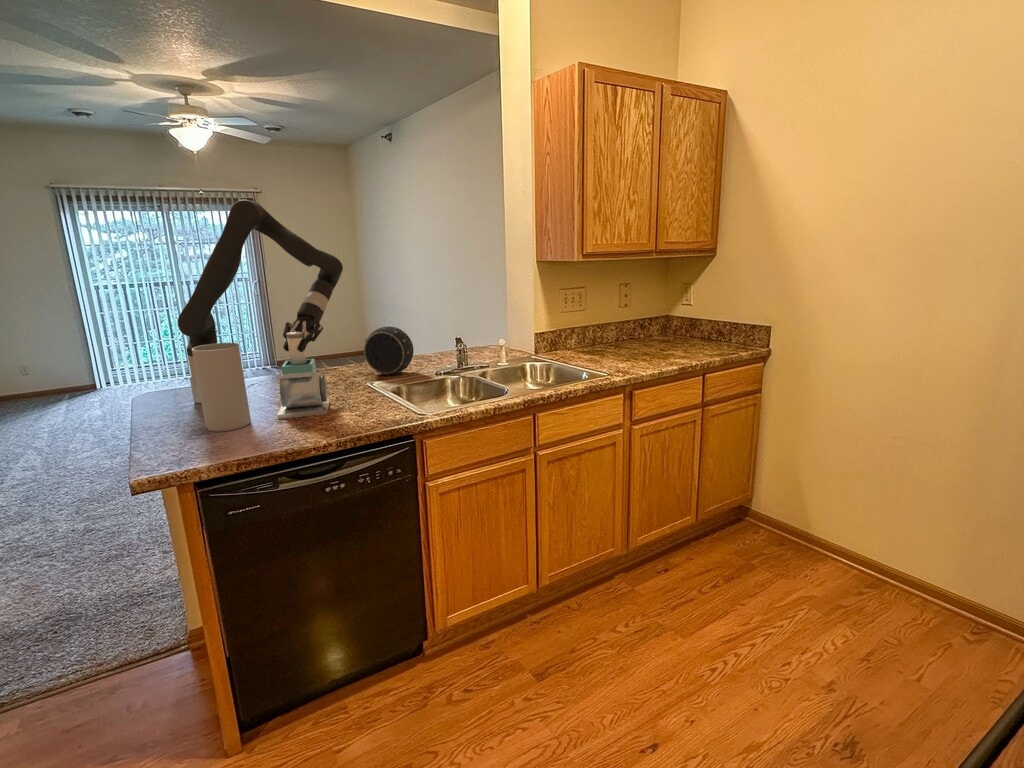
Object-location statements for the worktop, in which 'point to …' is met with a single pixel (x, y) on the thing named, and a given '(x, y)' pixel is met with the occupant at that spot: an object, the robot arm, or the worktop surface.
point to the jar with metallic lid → (295, 348)
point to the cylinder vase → (221, 386)
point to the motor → (302, 391)
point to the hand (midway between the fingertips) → (292, 350)
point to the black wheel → (388, 350)
